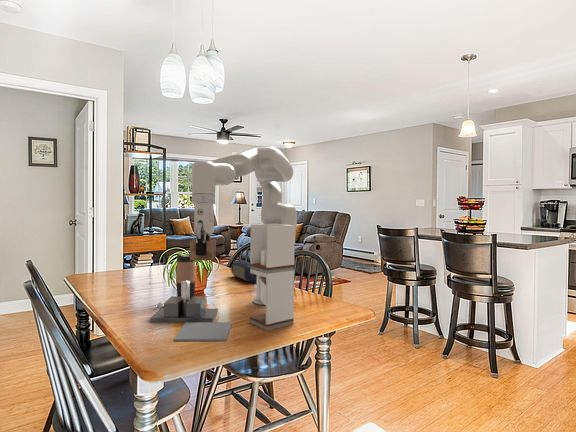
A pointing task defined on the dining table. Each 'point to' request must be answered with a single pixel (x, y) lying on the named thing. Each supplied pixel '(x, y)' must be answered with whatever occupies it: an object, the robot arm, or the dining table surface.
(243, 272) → the portable speaker
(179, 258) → the travel mug
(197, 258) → the collar
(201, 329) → the mat
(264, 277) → the grey two-tier cabinet
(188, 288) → the vise
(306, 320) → the dining table surface
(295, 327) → the dining table surface
